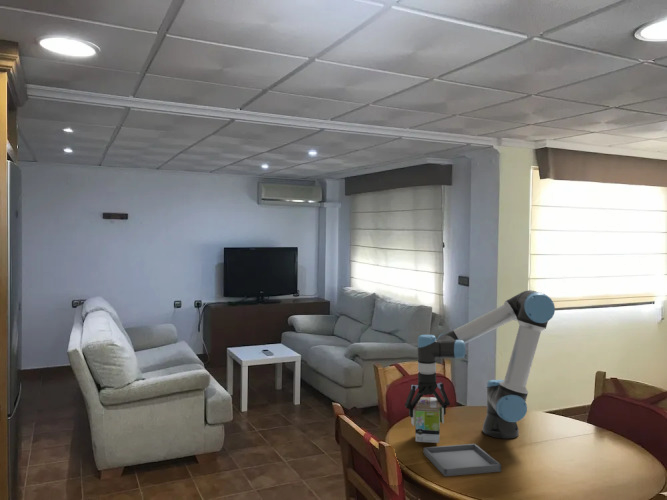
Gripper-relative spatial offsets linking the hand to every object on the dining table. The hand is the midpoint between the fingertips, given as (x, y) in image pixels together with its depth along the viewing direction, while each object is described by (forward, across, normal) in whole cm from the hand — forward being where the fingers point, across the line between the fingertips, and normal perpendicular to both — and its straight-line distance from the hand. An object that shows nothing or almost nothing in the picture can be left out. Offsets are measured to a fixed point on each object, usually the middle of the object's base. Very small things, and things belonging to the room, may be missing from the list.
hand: (427, 423), depth 226 cm
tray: (+8, -4, +22) cm, 24 cm away
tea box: (+6, 0, 0) cm, 6 cm away
